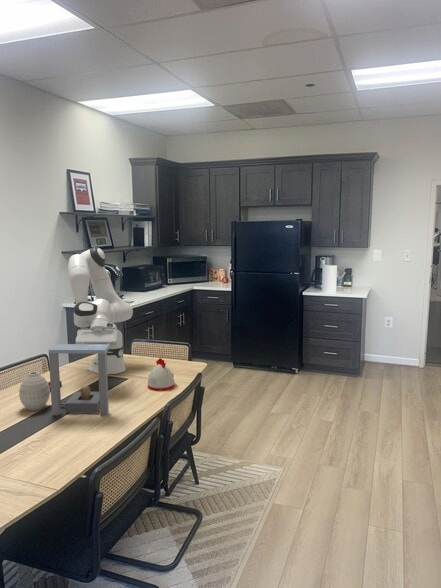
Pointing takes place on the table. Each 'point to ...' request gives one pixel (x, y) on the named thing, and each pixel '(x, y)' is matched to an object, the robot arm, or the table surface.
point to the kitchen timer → (161, 377)
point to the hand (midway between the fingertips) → (95, 352)
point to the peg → (85, 393)
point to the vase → (34, 391)
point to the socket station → (74, 402)
